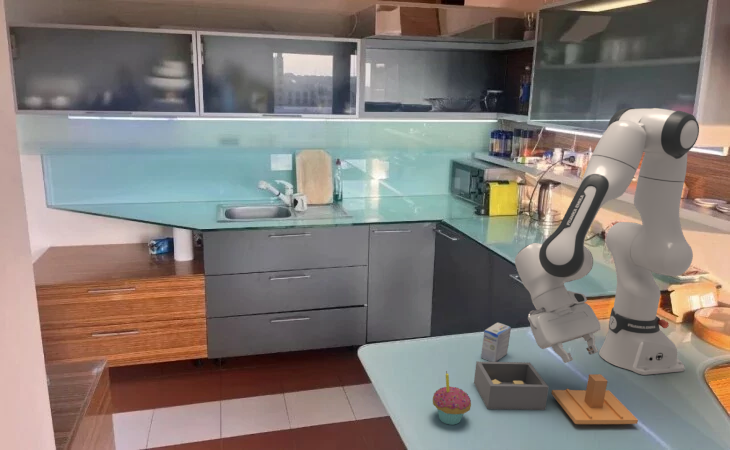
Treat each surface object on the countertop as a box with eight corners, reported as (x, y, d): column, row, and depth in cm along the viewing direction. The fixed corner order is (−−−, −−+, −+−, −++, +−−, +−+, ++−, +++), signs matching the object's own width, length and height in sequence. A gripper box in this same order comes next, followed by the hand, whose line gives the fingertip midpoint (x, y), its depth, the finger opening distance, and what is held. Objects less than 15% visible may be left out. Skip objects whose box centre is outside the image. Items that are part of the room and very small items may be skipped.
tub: (526, 383, 146) (530, 362, 145) (545, 409, 135) (548, 386, 133) (473, 382, 145) (476, 361, 144) (487, 409, 134) (490, 386, 132)
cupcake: (439, 431, 124) (445, 381, 121) (424, 410, 131) (429, 362, 129) (475, 427, 126) (481, 378, 123) (458, 406, 134) (464, 359, 131)
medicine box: (493, 349, 165) (497, 321, 163) (507, 354, 162) (511, 326, 160) (480, 358, 159) (483, 329, 157) (494, 363, 156) (498, 334, 154)
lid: (607, 399, 142) (613, 364, 140) (636, 429, 130) (643, 392, 127) (550, 399, 140) (556, 364, 138) (574, 429, 128) (580, 392, 126)
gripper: (533, 306, 134) (561, 362, 129) (588, 293, 145) (617, 344, 140) (517, 317, 139) (543, 371, 134) (571, 303, 150) (598, 353, 144)
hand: (581, 357), depth 137 cm, fingers open, 8 cm apart
